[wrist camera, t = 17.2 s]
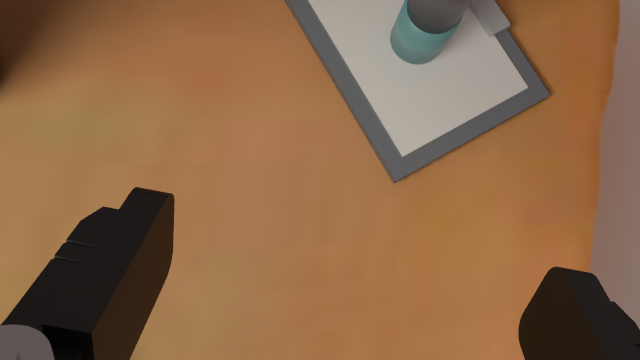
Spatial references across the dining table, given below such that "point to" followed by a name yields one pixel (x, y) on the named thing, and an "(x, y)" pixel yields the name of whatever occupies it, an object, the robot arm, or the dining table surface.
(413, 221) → the dining table surface
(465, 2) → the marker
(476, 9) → the grey flat block
